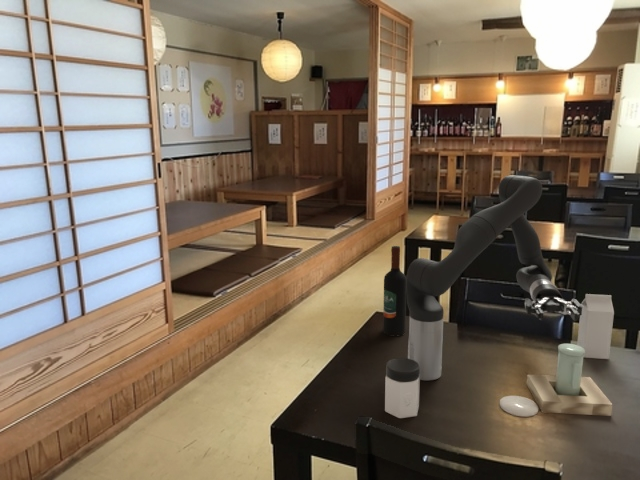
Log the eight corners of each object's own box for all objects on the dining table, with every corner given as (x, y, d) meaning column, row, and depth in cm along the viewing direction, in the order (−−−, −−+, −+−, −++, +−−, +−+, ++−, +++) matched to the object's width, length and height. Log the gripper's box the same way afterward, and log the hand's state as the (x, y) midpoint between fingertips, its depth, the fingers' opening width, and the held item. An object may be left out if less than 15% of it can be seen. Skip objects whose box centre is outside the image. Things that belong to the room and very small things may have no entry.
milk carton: (608, 359, 154) (615, 299, 150) (583, 358, 156) (589, 298, 152) (601, 349, 161) (607, 291, 157) (576, 348, 162) (582, 290, 158)
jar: (390, 420, 124) (391, 374, 121) (379, 403, 131) (380, 359, 129) (425, 415, 126) (427, 370, 123) (412, 399, 133) (413, 355, 131)
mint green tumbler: (560, 408, 128) (565, 356, 125) (550, 392, 136) (555, 343, 133) (585, 409, 127) (591, 357, 124) (574, 394, 135) (579, 344, 132)
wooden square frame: (542, 412, 126) (542, 401, 126) (526, 384, 140) (527, 374, 139) (611, 415, 124) (612, 404, 124) (588, 387, 138) (590, 377, 137)
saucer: (504, 415, 125) (504, 413, 125) (496, 396, 134) (496, 394, 134) (542, 417, 124) (543, 415, 124) (532, 398, 133) (532, 396, 133)
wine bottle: (406, 336, 173) (409, 249, 167) (384, 336, 174) (385, 249, 167) (403, 327, 181) (405, 244, 174) (382, 327, 181) (383, 244, 175)
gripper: (520, 283, 154) (531, 303, 138) (571, 283, 151) (588, 304, 136) (519, 306, 156) (530, 329, 140) (570, 307, 153) (586, 330, 138)
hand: (558, 317), depth 138 cm, fingers open, 8 cm apart
